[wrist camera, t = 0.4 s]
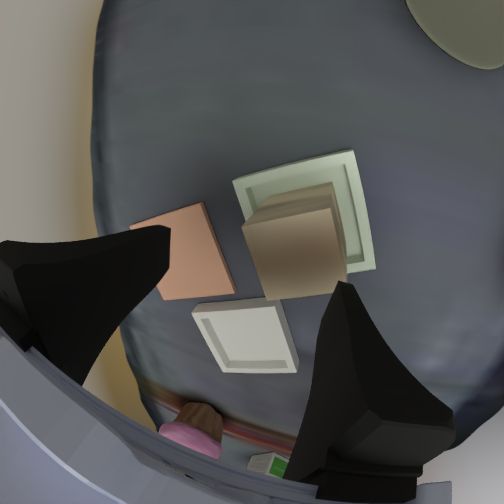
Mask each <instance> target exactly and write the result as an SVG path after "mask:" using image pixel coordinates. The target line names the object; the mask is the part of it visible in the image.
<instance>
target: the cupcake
mask: <svg viewBox="0 0 504 504" xmlns="http://www.w3.org/2000/svg"><path fill="white" fill-rule="evenodd" d="M158 434H160V435H162V436H164V437H166V438H168V439H170V440H172V441H175V442H177V443H179V444H181V445H183V446H186V447H188V448H190V449H193V450H195V451H197V452H200V453H202V454H205V455H207V456H210V457H212V458H215V459H218V458H219V457H220V455H221V453H222V451H223V449H222V445H221V440H222V434H223V422H222V417H221V415H220V414H218V413H217V412H216V411H215V410H214V409H213V407H212V406H210V405H209V404H206V403H195V402H190V403H187V404H185V405H184V407H183V408H182V410H181V411H180V413H179V414H178V416H177V418H176V419H175V420H174V421H173V422H168V423H165V424H163V425H162V426H161V427H160V430H159V433H158Z"/></svg>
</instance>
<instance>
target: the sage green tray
mask: <svg viewBox="0 0 504 504" xmlns="http://www.w3.org/2000/svg"><path fill="white" fill-rule="evenodd" d="M232 182H233V185H234V188H235V191H236V194H237V197H238V200H239V203H240V206H241V209H242V212H243V214H244V217H245V220H246V221H247V220H248V219H249V218H250V217H251V216H252V214H253V213H254V212H255V211H256V210H257V209H258V208H259V207H260V206H261V205H262V203H263V202H264V201H265V200H266V199H267V198H268V197H269V196H271V195H275V194H279V193H283V192H288V191H292V190H296V189H301V188H305V187H310V186H314V185H319V184H323V183H328V182H333V186H334V190H335V194H336V198H337V202H338V207H339V211H340V215H341V220H342V225H343V229H344V234H345V239H346V250H347V273H353V272H359V271H365V270H371V269H376V266H375V259H374V251H373V244H372V238H371V232H370V226H369V220H368V214H367V209H366V204H365V199H364V194H363V189H362V185H361V180H360V176H359V172H358V167H357V163H356V159H355V155H354V151H353V150H352V149H348V150H343V151H338V152H334V153H329V154H325V155H320V156H316V157H312V158H308V159H304V160H299V161H295V162H291V163H288V164H284V165H280V166H276V167H272V168H269V169H265V170H261V171H258V172H254V173H251V174H247V175H244V176H240V177H238V178H237V179H235V180H233V181H232Z"/></svg>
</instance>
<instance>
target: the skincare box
mask: <svg viewBox="0 0 504 504" xmlns="http://www.w3.org/2000/svg"><path fill="white" fill-rule="evenodd" d="M288 462H289V460H288V459H286V458H284V457H282V456H280V455H278V454H277V453H275V452H271V453H265V454H259V455H252V457H251V459H250V461H249V464H248V466H247V468H246V469H248V470H251V471H254V472H258V473H261V474H265V475H269V476H273V477H277V478H281V479H282V477H283V474H284V472H285V469H286V467H287V464H288Z"/></svg>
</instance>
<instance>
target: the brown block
mask: <svg viewBox="0 0 504 504" xmlns="http://www.w3.org/2000/svg"><path fill="white" fill-rule="evenodd" d="M241 228H242V231H243V233H244V236H245V239H246V242H247V245H248V248H249V251H250V253H251V256H252V259H253V262H254V265H255V268H256V271H257V274H258V276H259V279H260V282H261V285H262V288H263V291H264V294H265V296H266V299H267V301H270V300H279V299H288V298H296V297H304V296H312V295H320V294H327V293H333V292H334V290H335V287H336V285H337V282H338V280H339V281H343V282H346V283H347V250H346V239H345V234H344V229H343V225H342V220H341V215H340V211H339V207H338V202H337V198H336V194H335V190H334V186H333V182H328V183H323V184H319V185H314V186H310V187H305V188H301V189H296V190H292V191H288V192H283V193H279V194H275V195H271V196H269V197H268V198H267V199H266V200H265V201H264V202H263V203H262V205H261V206H260V207H259V208H258V209H257V210H256V211H255V212H254V213H253V214H252V216H251V217H250V218H249V219H248V220H247V221H246V222H245V223H244V224H243V225H242V227H241Z"/></svg>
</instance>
